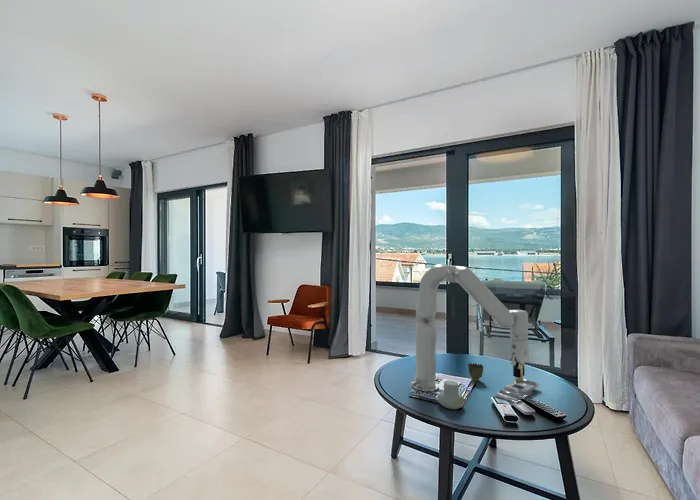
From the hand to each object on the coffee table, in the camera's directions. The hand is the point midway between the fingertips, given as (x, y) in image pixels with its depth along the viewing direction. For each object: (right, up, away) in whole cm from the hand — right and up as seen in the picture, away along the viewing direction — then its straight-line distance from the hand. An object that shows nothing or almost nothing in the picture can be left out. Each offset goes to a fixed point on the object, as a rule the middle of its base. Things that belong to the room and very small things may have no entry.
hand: (518, 375), depth 164 cm
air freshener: (-36, -8, -15) cm, 40 cm away
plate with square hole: (0, -8, 0) cm, 8 cm away
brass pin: (0, -3, 0) cm, 3 cm away
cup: (-15, -8, +15) cm, 23 cm away
